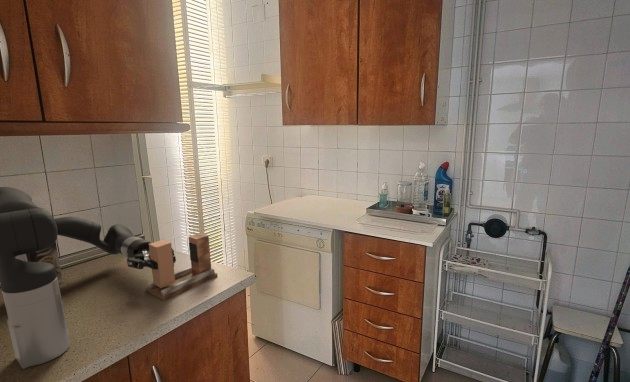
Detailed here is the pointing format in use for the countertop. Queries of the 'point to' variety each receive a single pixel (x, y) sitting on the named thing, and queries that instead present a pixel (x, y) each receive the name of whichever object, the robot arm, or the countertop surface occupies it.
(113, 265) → the countertop surface
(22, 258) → the coffee box
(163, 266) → the block
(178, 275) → the rail base
